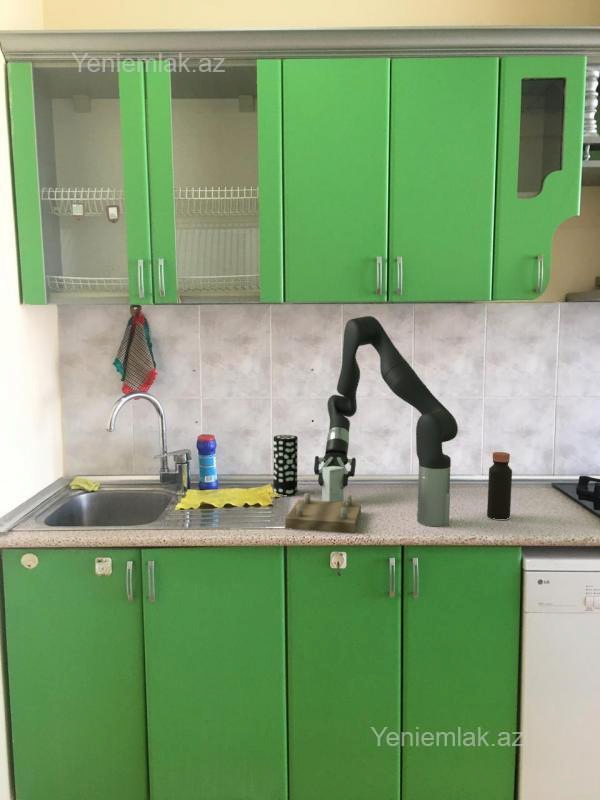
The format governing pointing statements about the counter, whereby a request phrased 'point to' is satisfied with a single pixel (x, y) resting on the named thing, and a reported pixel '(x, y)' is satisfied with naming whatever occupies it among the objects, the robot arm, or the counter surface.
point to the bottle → (499, 487)
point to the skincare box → (333, 484)
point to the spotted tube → (285, 465)
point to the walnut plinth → (324, 515)
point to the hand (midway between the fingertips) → (332, 485)
